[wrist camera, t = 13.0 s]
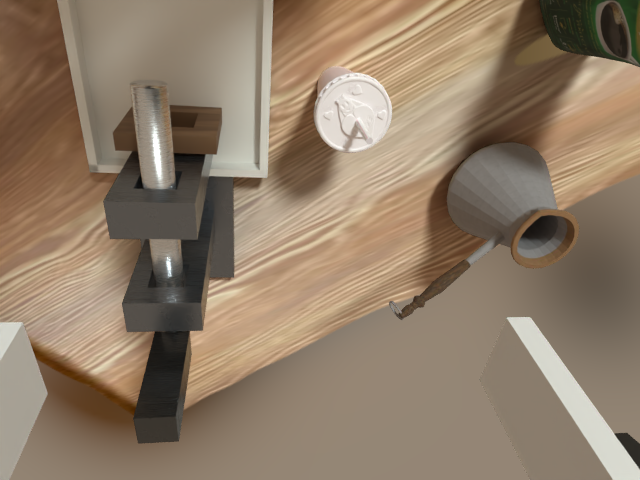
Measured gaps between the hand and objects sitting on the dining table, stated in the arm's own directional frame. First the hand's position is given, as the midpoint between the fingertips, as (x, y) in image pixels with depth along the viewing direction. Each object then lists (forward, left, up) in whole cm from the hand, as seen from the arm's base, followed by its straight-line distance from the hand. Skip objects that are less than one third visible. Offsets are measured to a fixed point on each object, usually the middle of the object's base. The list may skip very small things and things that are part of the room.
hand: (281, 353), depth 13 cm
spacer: (+5, -8, -35) cm, 37 cm away
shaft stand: (+15, -8, -36) cm, 40 cm away
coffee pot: (+13, +22, -37) cm, 45 cm away
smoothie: (+1, +7, -36) cm, 37 cm away
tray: (0, -8, -36) cm, 37 cm away
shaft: (+11, -8, -24) cm, 28 cm away
